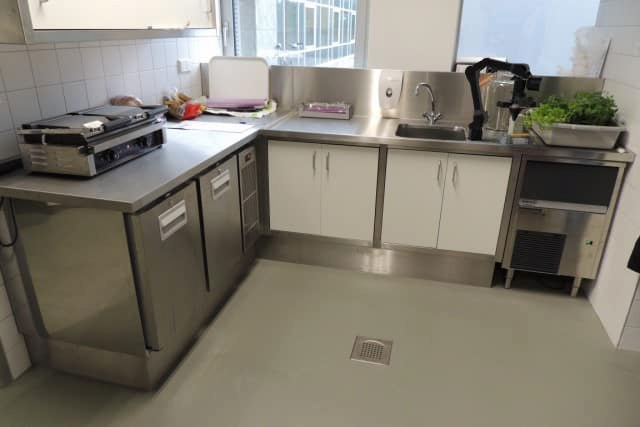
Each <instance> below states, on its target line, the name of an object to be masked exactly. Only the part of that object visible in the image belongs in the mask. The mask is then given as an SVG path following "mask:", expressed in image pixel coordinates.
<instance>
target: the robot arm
mask: <svg viewBox="0 0 640 427" xmlns="http://www.w3.org/2000/svg"><path fill="white" fill-rule="evenodd" d="M487 67H490V68H494V69H499V70H503V71H507V72H509V73H511V74H513V76H512V77H511V78H510V79H509V80H510V81H513V87H512V90H511V91H510V94H512V95H511V99H509V101H508V100H498V101H497V102H496V107H498V108H502V109H508V111H509V113H510V117H512V120H513V121H515V120H516V119H517V117H518V115H519V114H520V113H522V111H523V110H526V108H529V107H530V108H537V102H536V101H535V99H534V96H527V92H526V90H527V91H529V92H542V90H543V86H544V77H542V76H533V74H532V72H531V71H530V70H531V68H530V67H531V66H530V65H529V64H528V63H524V62H509V61H504V60H501V59H494V58H491V57H483V58H482V59H481V60H479V61H477V62H475V63H474V64H471V65H468V66H467V67H465V69H464V75H465V78H466V80H467V81H468V83H469V85H470V92H471V97H472V104H473V109H474V110H473V116H472V122H470V123H469V124H468V135H467V137H466V139H468V140H470V141H483V134H484V131H483V128H484V126H485V125H487V124H488V123H489V119H490V117H489V111H488V110H485V109H484V104H483V98H482V93H481V88H480V86H481V85H480V78H481V71H483V70H485V69H486V68H487Z"/></svg>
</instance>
